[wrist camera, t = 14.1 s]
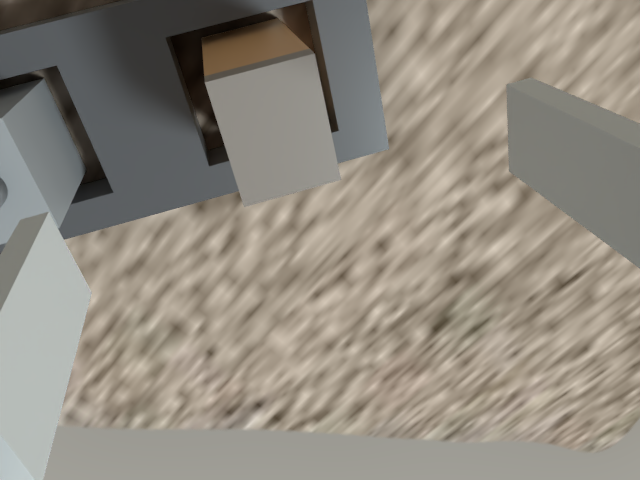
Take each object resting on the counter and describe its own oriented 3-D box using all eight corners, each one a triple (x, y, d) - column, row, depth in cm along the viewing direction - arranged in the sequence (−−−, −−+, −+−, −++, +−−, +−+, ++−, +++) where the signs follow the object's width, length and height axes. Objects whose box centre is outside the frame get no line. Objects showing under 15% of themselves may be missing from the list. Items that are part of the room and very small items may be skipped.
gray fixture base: (-38, 249, 31) (-111, 347, 23) (-153, 69, 26) (-293, 122, 18) (375, 134, 32) (429, 192, 25) (344, -56, 27) (400, -53, 20)
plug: (230, 130, 30) (244, 207, 22) (201, 37, 28) (204, 82, 19) (300, 111, 31) (341, 179, 22) (277, 18, 28) (314, 53, 20)
